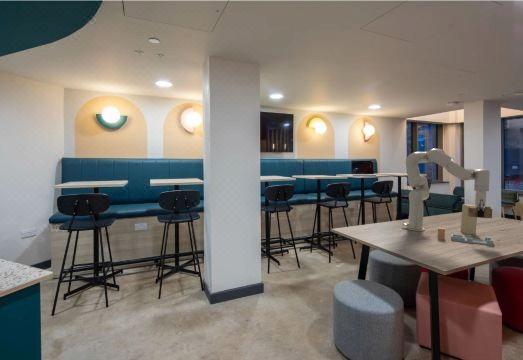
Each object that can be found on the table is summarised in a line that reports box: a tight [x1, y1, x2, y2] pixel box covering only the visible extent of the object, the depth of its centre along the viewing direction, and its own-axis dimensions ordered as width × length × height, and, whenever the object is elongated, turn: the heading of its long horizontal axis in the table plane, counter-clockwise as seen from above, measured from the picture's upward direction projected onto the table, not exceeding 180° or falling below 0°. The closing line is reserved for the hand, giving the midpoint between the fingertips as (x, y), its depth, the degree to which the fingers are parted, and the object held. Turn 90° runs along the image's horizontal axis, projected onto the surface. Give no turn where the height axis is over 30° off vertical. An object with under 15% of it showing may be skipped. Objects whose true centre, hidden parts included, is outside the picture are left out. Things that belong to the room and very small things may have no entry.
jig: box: [450, 233, 495, 247], centre depth 186 cm, size 22×9×3 cm, turn 57°
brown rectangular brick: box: [437, 227, 446, 240], centre depth 193 cm, size 4×4×7 cm
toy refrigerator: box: [460, 203, 478, 235], centre depth 206 cm, size 8×7×21 cm
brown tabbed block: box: [468, 205, 493, 219], centre depth 183 cm, size 12×5×7 cm, turn 65°
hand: (480, 215), depth 183 cm, fingers closed on brown tabbed block, 5 cm apart
